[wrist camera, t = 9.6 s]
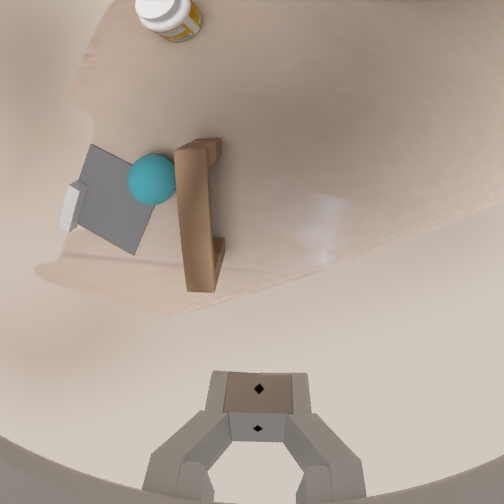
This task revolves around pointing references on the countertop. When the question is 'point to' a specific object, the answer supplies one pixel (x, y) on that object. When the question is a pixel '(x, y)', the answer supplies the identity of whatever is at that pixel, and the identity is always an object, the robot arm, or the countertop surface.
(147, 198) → the ball
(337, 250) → the countertop surface
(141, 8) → the supplement bottle
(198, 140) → the bridge
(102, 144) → the countertop surface
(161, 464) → the robot arm
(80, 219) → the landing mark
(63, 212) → the wall
